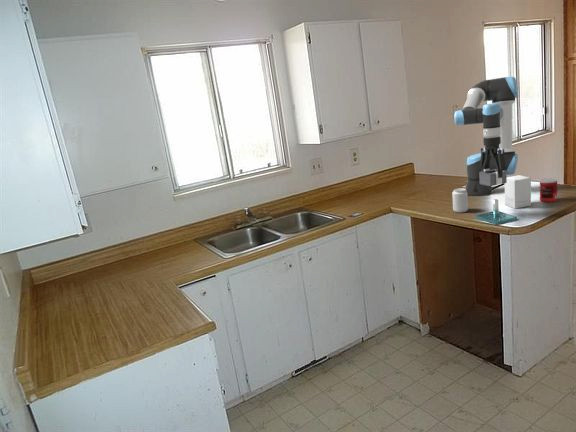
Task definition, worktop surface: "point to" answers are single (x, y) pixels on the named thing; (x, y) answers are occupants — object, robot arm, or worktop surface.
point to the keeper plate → (495, 219)
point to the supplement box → (518, 191)
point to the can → (460, 200)
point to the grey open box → (491, 177)
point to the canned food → (548, 190)
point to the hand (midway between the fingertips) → (492, 183)
